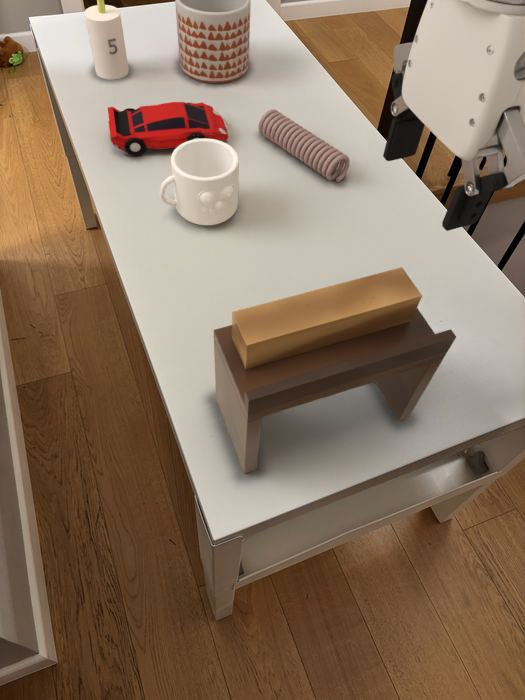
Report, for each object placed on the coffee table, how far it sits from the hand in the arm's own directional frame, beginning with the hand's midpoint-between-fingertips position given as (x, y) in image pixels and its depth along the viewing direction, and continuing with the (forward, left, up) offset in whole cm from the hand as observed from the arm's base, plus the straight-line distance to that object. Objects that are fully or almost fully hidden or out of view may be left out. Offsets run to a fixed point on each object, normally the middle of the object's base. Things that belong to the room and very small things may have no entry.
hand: (427, 189), depth 47 cm
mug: (+35, -5, -27) cm, 44 cm away
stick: (+2, +10, -13) cm, 16 cm away
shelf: (0, +10, -27) cm, 29 cm away
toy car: (+52, -14, -27) cm, 60 cm away
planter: (+64, -37, -27) cm, 78 cm away
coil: (+33, -27, -27) cm, 50 cm away
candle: (+76, -21, -27) cm, 83 cm away
